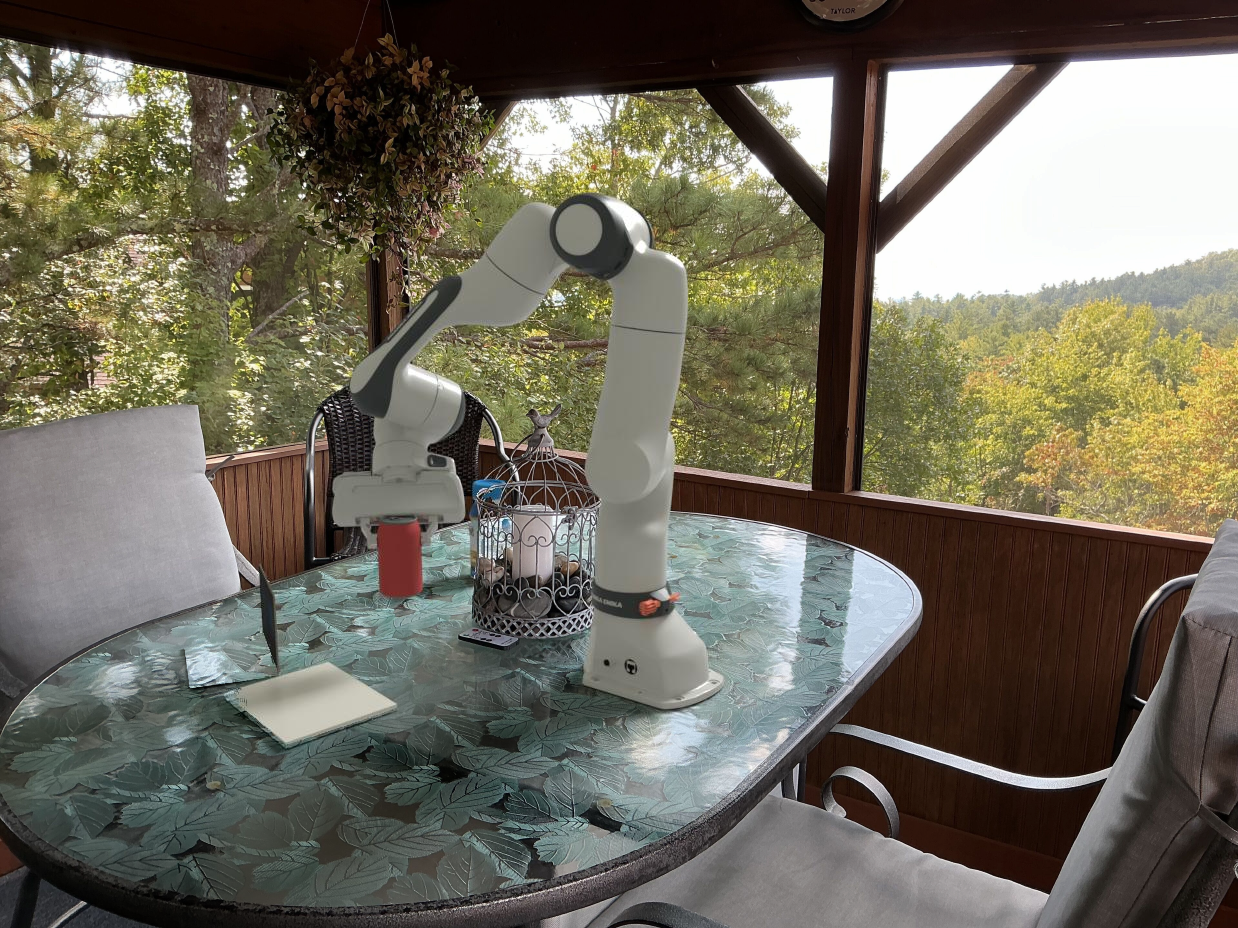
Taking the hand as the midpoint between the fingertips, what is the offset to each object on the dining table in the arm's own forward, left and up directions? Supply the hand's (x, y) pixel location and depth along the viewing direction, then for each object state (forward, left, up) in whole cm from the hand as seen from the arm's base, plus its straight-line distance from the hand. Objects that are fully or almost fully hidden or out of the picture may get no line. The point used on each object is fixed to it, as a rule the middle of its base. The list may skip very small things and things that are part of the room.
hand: (399, 545), depth 137 cm
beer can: (+1, 0, -8) cm, 8 cm away
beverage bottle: (+27, -37, -19) cm, 49 cm away
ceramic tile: (-3, +17, -19) cm, 26 cm away
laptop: (+19, +19, -20) cm, 34 cm away
